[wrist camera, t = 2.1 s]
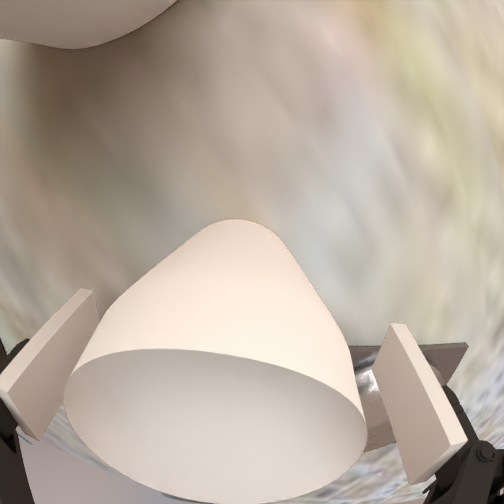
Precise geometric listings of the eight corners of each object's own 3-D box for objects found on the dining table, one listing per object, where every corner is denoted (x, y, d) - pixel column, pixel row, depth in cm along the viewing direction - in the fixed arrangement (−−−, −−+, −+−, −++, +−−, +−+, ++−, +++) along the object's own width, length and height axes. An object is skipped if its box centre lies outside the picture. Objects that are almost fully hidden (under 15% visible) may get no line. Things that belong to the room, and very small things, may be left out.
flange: (283, 446, 25) (284, 458, 24) (317, 345, 20) (321, 360, 18) (404, 436, 25) (408, 447, 24) (465, 342, 20) (473, 353, 19)
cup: (342, 260, 17) (430, 427, 6) (250, 353, 20) (243, 516, 9) (219, 164, 15) (122, 244, 4) (138, 281, 18) (43, 430, 7)
